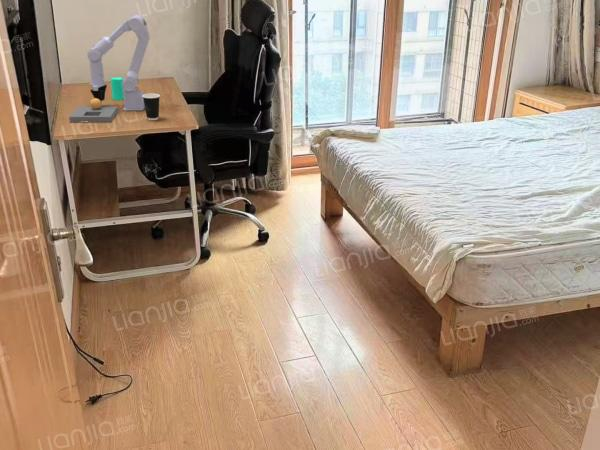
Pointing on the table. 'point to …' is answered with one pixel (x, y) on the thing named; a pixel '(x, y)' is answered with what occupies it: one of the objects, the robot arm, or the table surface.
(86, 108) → the plate
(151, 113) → the dixie cup
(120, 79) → the candle
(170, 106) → the table surface
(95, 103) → the ball
